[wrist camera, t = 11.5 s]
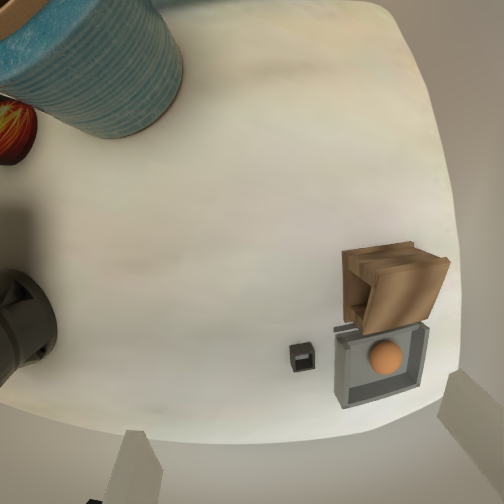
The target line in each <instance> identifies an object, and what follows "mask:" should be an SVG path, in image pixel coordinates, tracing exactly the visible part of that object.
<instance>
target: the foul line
mask: <svg viewBox="0 0 504 504" xmlns="http://www.w3.org/2000/svg"><path fill="white" fill-rule="evenodd" d="M353 328H357V326H356V325H355V324H349V325H344V326H339V327H334V332H339V331H344V330H349V329H353Z"/></svg>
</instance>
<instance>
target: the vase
mask: <svg viewBox="0 0 504 504" xmlns="http://www.w3.org/2000/svg"><path fill="white" fill-rule="evenodd" d="M182 70H183V66H182V57H181V53H180V51H179V48H178V46H177V44H176V43H175V41H174V38H173V37H172V35H171V33H170V31H169V29H168V27H167V25H166V23H165V22H164V20H163V18H162V17H161V15H160V14H159V13H158V11H157V9H156V7H155V6H154V4H153V2H152V0H0V92H1V93H4V94H6V95H8V96H10V97H13V98H15V99H17V100H19V101H21V102H23V103H25V104H28V105H30V106H32V107H34V108H36V109H39V110H40V111H43V112H45V113H47V114H49V115H51V116H53V117H54V118H56V119H58V120H60V121H62V122H63V123H65V124H68V125H70V126H72V127H74V128H76V129H78V130H81V131H83V132H85V133H87V134H90V135H92V136H95V137H100V138H118V137H124V136H127V135H130V134H133V133H135V132H137V131H139V130H142V129H143V128H145V127H146V126H148V125H149V124H151V123H152V122H154V121H155V120H156V119H157V118H158V117H159V116H160V115H161V114H162V113H163V112H164V111H165V110H166V109H167V107H168V106H169V105H170V103H171V102H172V100H173V98H174V97H175V95H176V93H177V91H178V88H179V85H180V82H181V78H182Z"/></svg>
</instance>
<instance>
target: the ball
mask: <svg viewBox="0 0 504 504" xmlns="http://www.w3.org/2000/svg"><path fill="white" fill-rule="evenodd" d="M402 359H403V355H402V351H401V349H400V347H399V346H398V345H397V344H396V343H394V342H390V341H384V342H381V343H379V344H377V345H376V346H375V347H374V348H373V350H372V352H371V354H370V364H371V367H372V368H373V370H374V371H375V372H377V373H379V374H382V375H388V374H391V373H393V372H395V371H396V370H397V369H398V368H399V367H400V365H401V363H402Z"/></svg>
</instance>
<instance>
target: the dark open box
mask: <svg viewBox="0 0 504 504" xmlns="http://www.w3.org/2000/svg"><path fill="white" fill-rule="evenodd" d="M289 348H290V361H291V366H292V369H293V371H294V372H300V371H305V370H311V369H315V351H314V349H313V347H312V345H311V343H310V342H308V343H302V344H297V345H291V346H289ZM305 354H309V358H307V359H302V360H296V361H295V356H299V355H305Z"/></svg>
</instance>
